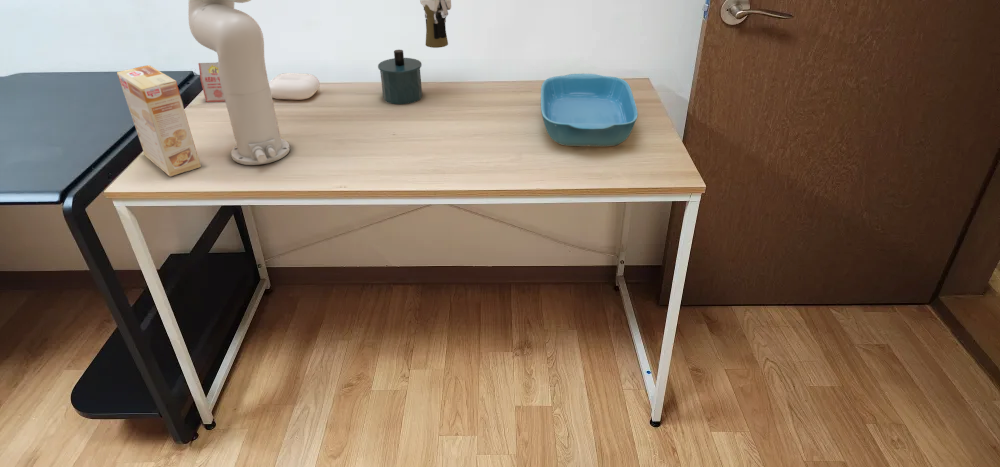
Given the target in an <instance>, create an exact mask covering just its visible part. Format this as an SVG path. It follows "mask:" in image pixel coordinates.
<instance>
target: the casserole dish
mask: <svg viewBox="0 0 1000 467" xmlns="http://www.w3.org/2000/svg"><path fill="white" fill-rule="evenodd" d="M540 113H541V116H542V120H543V123H544V127H545V129H546V132H547V134H548V136H549V137H550V138H551V140H552V141H554V142H555V143H557V144H559V145H562V146H568V147H615V146H618V145H620V144H623V143H624V142H625V141H626V140H627V139H628V138H629V136H630V135H631V133H632V130H633V128H634V126H635V124H636V122H637V119H638V117H639V112H638V107H637V104H636V101H635V97H634V94H633V90H632V88H631V86H630V84H629V83H628V82H627V81H626V80H625V79H622V78H620V77H617V76H611V75H601V74H596V73H570V74H566V75H565V74H564V75H556V76H550V77H548V78H546V79H545V80H544V81H542V83H541V86H540Z"/></svg>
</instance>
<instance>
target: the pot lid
mask: <svg viewBox="0 0 1000 467" xmlns="http://www.w3.org/2000/svg"><path fill="white" fill-rule="evenodd" d="M393 57H394V58H388V59H385V60H382V61H381V62H379V63H378V64H377V69H378V70H379V72H380V71H382V72H386V73H394V74H399V73H408V72H413V71H416V70H418V69H419V68H420V69H421V68H422V62H421V61H420V60H419V59H416V58H412V57H405V56H404V50H403V49H395V50H394V51H393Z"/></svg>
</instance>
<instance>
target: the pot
mask: <svg viewBox="0 0 1000 467" xmlns="http://www.w3.org/2000/svg"><path fill="white" fill-rule="evenodd" d="M379 74H380V82H381V89H382V98H383V100H384V102H386V103H388V104H392V105H393V104H394V105H409V104H413V103H416V102H418V101H420V100H421V99H422V98H423V90H422V76H421V68H419V69H418V70H416V71H413V72H408V73H399V74H394V73H386V72H382V71H380V70H379Z"/></svg>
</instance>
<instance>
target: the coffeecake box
mask: <svg viewBox="0 0 1000 467" xmlns="http://www.w3.org/2000/svg"><path fill="white" fill-rule="evenodd" d="M116 75H117V77H118V81H119V83H120V86H121V89H122V92H123V95H124V98H125V101H126V104H127V107H128V110H129V113H130V116H131V119H132V122H133V125H134V127H135V130H136V133H137V137H138V140H139V142H140V145H141V148H142V152H143V154H144V156H145V157H146V158H147V159H148V160H149V161H150V162H152V163H153V164H154V165H155V166H156V167H157V168H159V169H160V170H162V171H163V173H165V174H166V175H167V176H168V177H173V176H177V175H179V174H183V173H186V172H189V171H193V170H196V169H199V168H202V165H201V162H200V159H199V155H198V152H197V148H196V145H195V142H194V139H193V135H192V131H191V128H190V124H189V121H188V118H187V113H186V111H185V107H184V103H183V100H182V96H181V93H180V89H179V87H178V82H177V80H175V79H174V78H172V77H170V76H169V75H167V74H165V73H164V72H162V71H160V70H158V69H157V68H155V67H153V66H152V65H149V64H148V65H143V66H138V67H134V68H130V69H125V70H120V71H117V72H116Z"/></svg>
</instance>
